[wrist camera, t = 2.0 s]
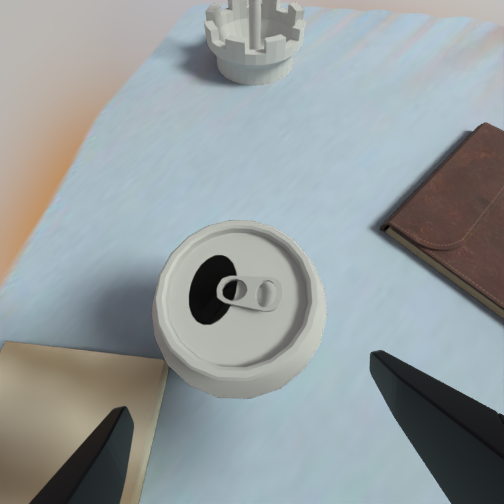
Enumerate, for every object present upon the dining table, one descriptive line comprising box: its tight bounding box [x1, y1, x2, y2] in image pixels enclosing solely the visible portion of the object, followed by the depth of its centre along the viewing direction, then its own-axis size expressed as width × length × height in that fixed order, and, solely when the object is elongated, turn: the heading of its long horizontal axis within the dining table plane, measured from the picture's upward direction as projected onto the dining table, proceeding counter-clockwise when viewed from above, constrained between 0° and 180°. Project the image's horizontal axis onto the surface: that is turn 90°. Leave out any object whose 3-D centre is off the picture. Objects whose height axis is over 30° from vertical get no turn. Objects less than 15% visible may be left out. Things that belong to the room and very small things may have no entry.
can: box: [151, 220, 327, 399], centre depth 15 cm, size 8×8×12 cm
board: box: [0, 341, 169, 504], centre depth 16 cm, size 14×12×2 cm
